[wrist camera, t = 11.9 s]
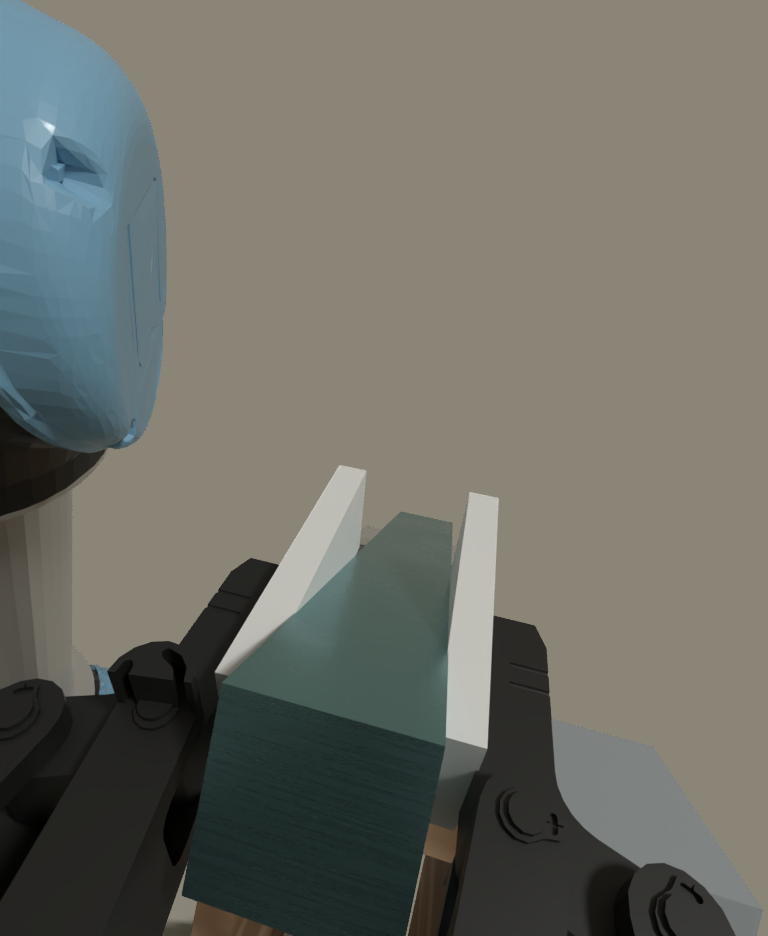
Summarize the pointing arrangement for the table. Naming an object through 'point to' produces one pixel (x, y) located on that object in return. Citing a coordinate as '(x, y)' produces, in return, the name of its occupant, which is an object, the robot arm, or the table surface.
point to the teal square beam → (333, 748)
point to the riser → (228, 932)
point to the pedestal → (645, 814)
